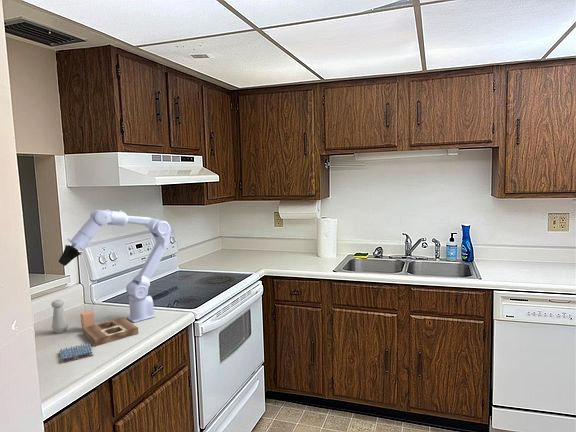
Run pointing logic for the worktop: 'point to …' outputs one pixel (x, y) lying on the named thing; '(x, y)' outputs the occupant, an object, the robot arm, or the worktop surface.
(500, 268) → the worktop surface
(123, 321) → the wooden peg board
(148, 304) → the robot arm
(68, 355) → the woven mat
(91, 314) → the pin
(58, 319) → the salt shaker
